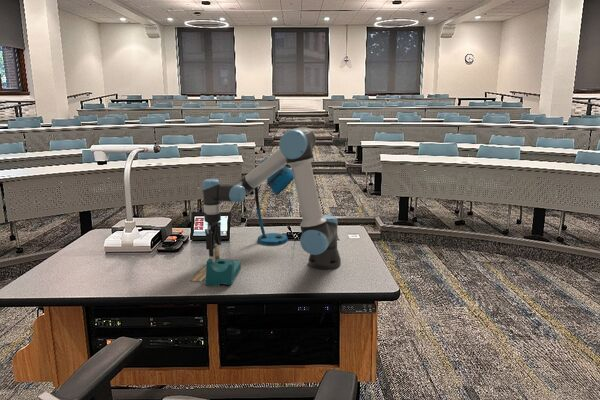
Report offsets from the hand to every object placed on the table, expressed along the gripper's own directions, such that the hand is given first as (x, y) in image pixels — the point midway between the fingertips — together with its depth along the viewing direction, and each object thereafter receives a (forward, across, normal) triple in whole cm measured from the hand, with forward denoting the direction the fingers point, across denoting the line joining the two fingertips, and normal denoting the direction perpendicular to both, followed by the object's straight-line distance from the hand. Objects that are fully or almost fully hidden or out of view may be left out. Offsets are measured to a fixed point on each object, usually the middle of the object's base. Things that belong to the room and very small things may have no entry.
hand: (214, 260), depth 229 cm
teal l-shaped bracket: (+2, +16, +11) cm, 20 cm away
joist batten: (+1, +15, 0) cm, 15 cm away
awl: (+1, 0, 0) cm, 1 cm away
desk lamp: (+1, -38, +20) cm, 43 cm away
